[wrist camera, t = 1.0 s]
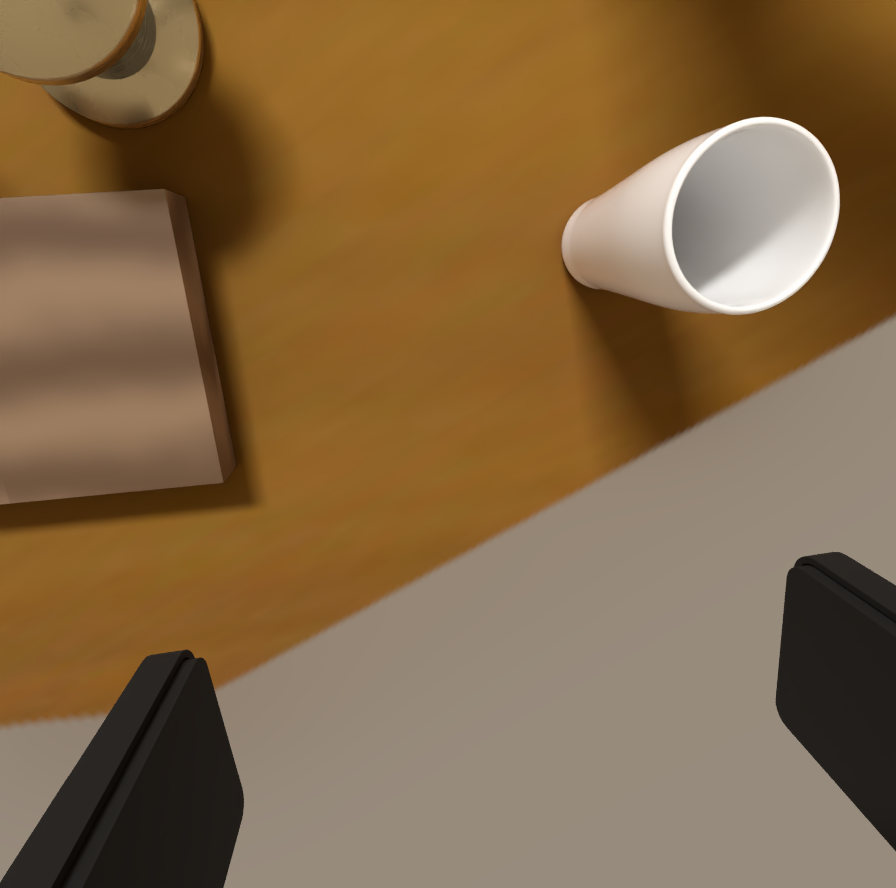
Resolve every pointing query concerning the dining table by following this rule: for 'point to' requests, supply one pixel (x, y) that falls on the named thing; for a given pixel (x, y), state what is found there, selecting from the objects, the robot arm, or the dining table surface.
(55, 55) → the bobbin
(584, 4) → the dining table surface
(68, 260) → the notched board
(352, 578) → the dining table surface
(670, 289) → the drinking glass
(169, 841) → the robot arm
